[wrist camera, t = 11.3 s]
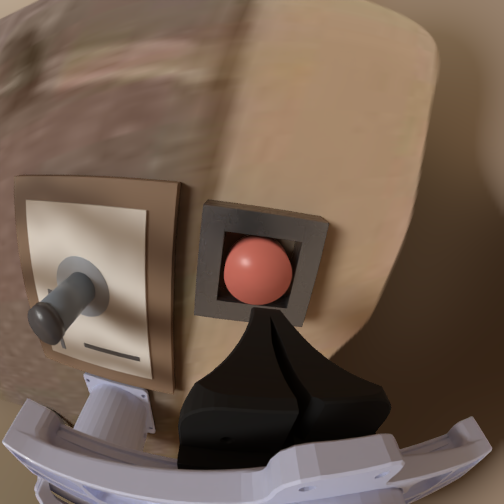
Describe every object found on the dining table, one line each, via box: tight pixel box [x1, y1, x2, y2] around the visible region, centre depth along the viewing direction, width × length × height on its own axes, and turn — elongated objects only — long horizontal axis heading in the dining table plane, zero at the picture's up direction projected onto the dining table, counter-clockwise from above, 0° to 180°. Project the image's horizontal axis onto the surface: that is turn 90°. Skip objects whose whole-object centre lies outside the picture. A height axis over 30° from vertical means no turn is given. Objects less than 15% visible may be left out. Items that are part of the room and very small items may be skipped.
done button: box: [224, 235, 292, 305], centre depth 18 cm, size 4×4×2 cm
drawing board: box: [14, 175, 181, 394], centre depth 20 cm, size 20×16×1 cm
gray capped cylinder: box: [28, 272, 95, 345], centre depth 16 cm, size 3×3×6 cm
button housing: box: [194, 200, 329, 327], centre depth 19 cm, size 8×8×2 cm
